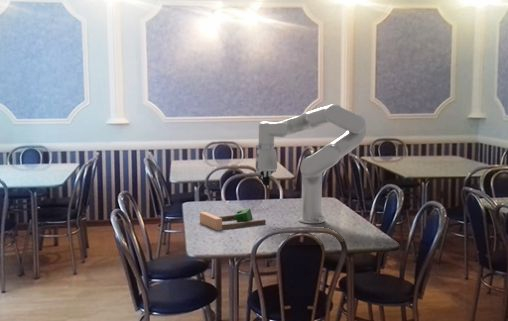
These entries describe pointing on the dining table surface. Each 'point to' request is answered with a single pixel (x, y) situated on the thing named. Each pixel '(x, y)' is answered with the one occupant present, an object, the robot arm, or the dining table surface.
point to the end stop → (211, 220)
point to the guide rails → (239, 224)
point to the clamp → (244, 215)
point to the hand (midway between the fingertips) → (265, 184)
